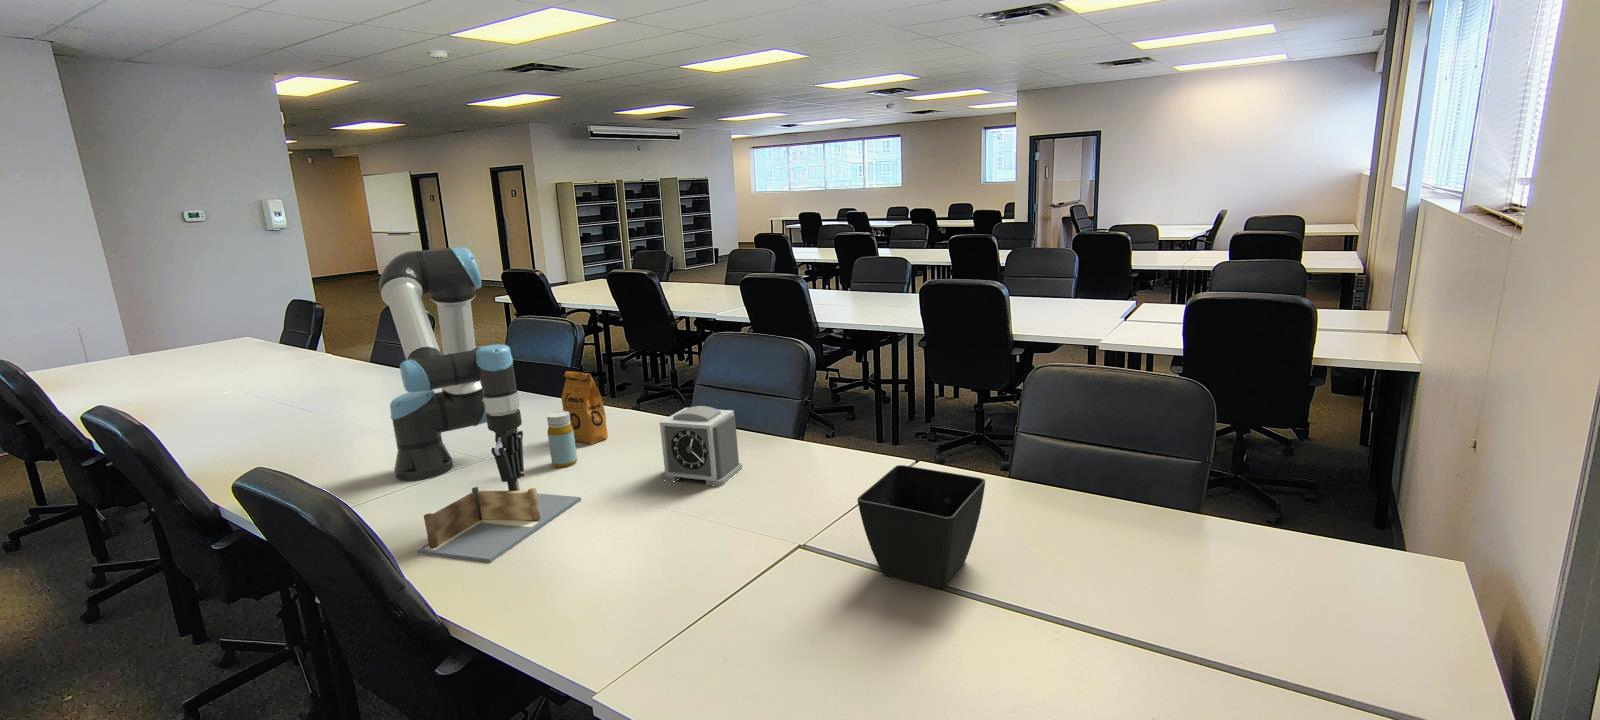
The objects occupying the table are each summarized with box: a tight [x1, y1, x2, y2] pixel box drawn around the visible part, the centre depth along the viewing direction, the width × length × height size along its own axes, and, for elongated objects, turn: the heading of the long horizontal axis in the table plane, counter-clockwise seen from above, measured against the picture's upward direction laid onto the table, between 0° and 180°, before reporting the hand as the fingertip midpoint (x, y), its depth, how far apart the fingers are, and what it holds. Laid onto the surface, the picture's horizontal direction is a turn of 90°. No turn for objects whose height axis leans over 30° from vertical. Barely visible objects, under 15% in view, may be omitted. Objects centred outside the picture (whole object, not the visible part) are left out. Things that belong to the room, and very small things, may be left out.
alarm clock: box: [659, 405, 743, 487], centre depth 201 cm, size 18×13×18 cm
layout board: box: [416, 492, 582, 564], centre depth 179 cm, size 33×20×1 cm, turn 161°
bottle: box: [546, 410, 578, 468], centre depth 216 cm, size 7×7×15 cm
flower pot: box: [857, 464, 986, 590], centre depth 145 cm, size 19×19×17 cm
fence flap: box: [478, 487, 540, 520], centre depth 178 cm, size 14×2×7 cm, turn 81°
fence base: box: [423, 486, 482, 549], centre depth 173 cm, size 16×2×8 cm, turn 161°
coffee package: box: [560, 370, 609, 445], centre depth 236 cm, size 10×12×22 cm
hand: (517, 504), depth 181 cm, fingers closed
